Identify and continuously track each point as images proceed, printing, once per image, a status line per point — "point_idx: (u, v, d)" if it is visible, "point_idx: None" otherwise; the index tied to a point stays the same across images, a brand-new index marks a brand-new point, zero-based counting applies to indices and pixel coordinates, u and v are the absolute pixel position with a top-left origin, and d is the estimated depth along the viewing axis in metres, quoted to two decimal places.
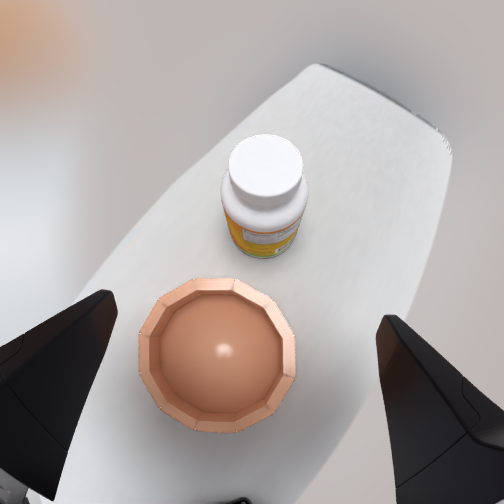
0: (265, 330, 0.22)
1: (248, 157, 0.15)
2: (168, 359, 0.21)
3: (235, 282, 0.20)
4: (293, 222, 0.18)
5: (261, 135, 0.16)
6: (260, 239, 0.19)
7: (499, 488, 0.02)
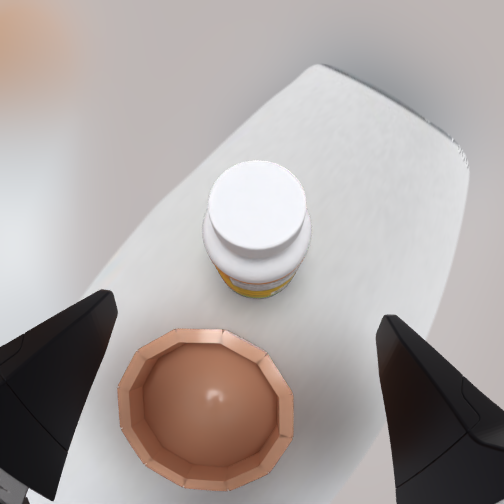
0: (259, 382, 0.18)
1: (234, 193, 0.12)
2: (153, 410, 0.18)
3: (224, 334, 0.17)
4: (292, 270, 0.14)
5: (251, 162, 0.12)
6: (252, 287, 0.16)
7: (499, 488, 0.02)
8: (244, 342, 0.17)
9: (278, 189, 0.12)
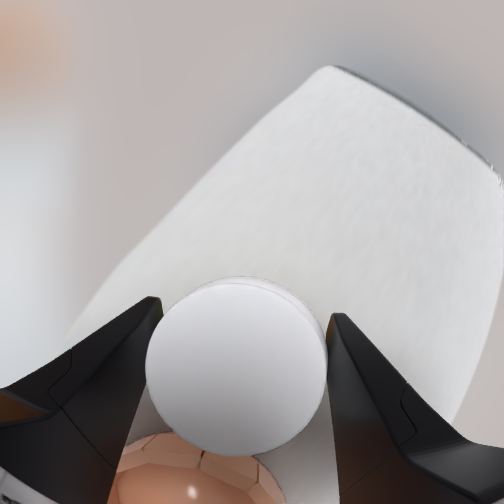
0: None
1: (190, 357, 0.06)
2: None
3: (202, 460, 0.11)
4: None
5: (223, 289, 0.06)
6: None
7: None
8: (229, 470, 0.11)
9: (274, 351, 0.06)
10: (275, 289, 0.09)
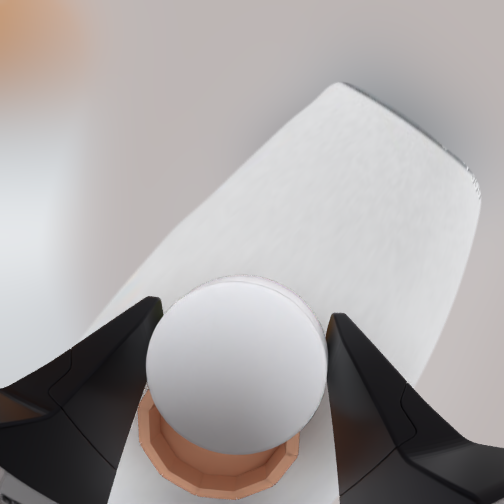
0: None
1: (190, 355, 0.06)
2: (169, 425, 0.19)
3: None
4: None
5: (224, 287, 0.06)
6: None
7: None
8: None
9: (275, 349, 0.06)
10: (275, 288, 0.09)
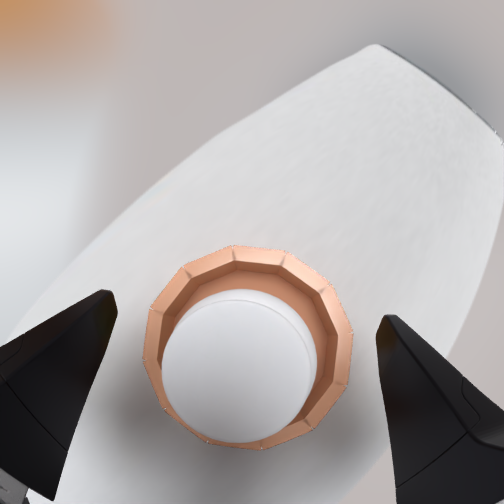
0: (311, 323, 0.17)
1: (199, 360, 0.07)
2: None
3: (286, 256, 0.16)
4: None
5: (226, 305, 0.08)
6: None
7: (499, 488, 0.02)
8: (307, 267, 0.15)
9: (268, 355, 0.07)
10: (270, 301, 0.10)
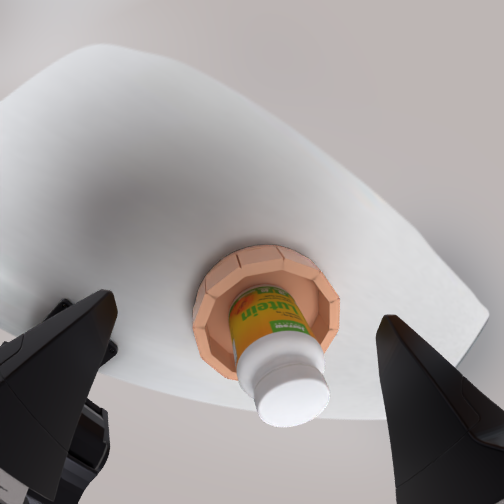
0: None
1: (298, 393, 0.14)
2: None
3: (335, 330, 0.22)
4: None
5: (327, 392, 0.14)
6: None
7: (499, 488, 0.02)
8: (329, 343, 0.22)
9: (306, 411, 0.14)
10: None
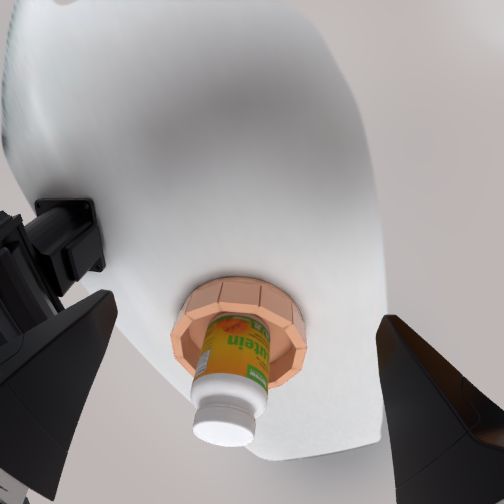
0: None
1: (233, 432, 0.16)
2: None
3: (277, 385, 0.25)
4: None
5: (250, 441, 0.17)
6: (198, 366, 0.20)
7: (499, 488, 0.02)
8: None
9: (225, 441, 0.17)
10: None
